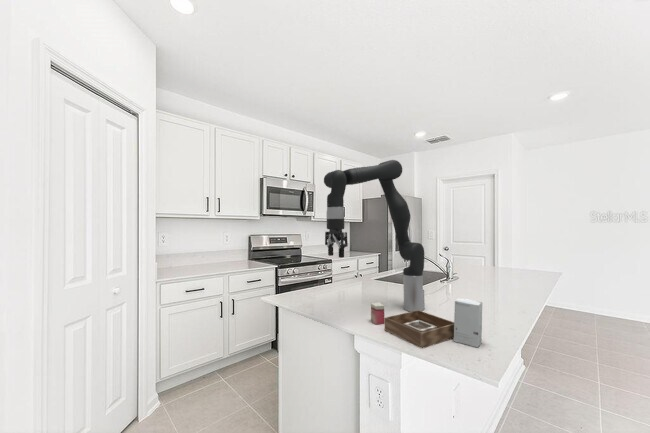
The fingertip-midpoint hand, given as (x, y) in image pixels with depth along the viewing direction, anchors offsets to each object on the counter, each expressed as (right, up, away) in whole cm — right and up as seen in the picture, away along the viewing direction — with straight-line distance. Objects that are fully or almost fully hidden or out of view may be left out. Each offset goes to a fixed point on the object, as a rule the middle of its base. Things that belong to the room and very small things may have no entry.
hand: (335, 256), depth 118 cm
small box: (+18, -29, +4) cm, 35 cm away
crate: (+32, -29, -9) cm, 44 cm away
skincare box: (+47, -29, -17) cm, 58 cm away
